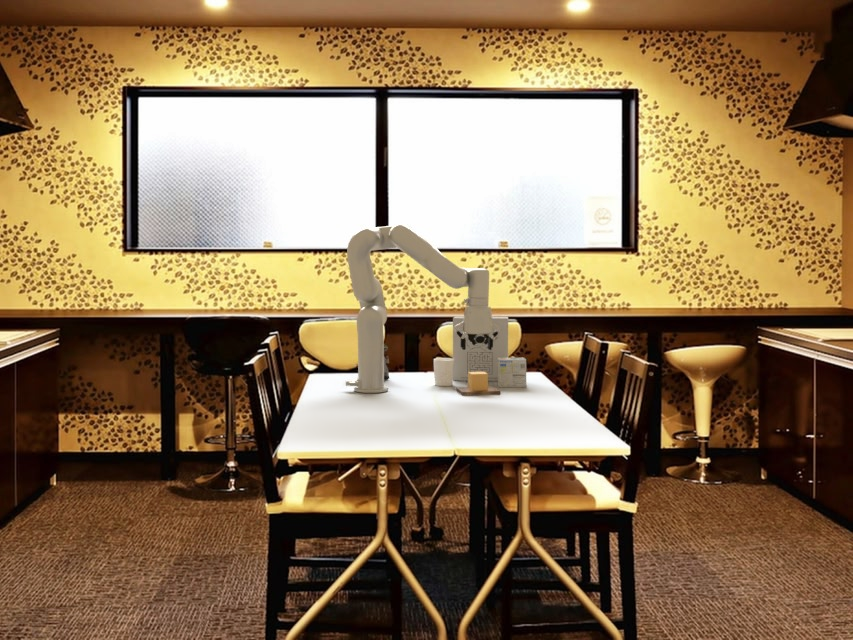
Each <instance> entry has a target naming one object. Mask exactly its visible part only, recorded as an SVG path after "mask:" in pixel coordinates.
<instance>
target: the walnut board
mask: <svg viewBox="0 0 853 640" xmlns="http://www.w3.org/2000/svg"><path fill="white" fill-rule="evenodd" d="M455 391H456V392H457V393H458V394H460V395H461V396H486V395H489V396H490V395H501V390H499V389H498V388H496V387H495V386H493V385H491V386H490V385H488V390H479V391H471V390H470V389H469V388H468V386H461V387H460V386H459V387H458V386H457V387H455Z"/></svg>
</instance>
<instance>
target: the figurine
mask: <svg viewBox="0 0 853 640" xmlns="http://www.w3.org/2000/svg"><path fill="white" fill-rule="evenodd" d="M388 349H389V347H388V346H387V345H386V344H385V343H384V352H386V351H388ZM385 355H386V356H385ZM389 364H390V359H389V355H388V354H387V353H384V380H389V379H390V375H389V372H390V371H389V368H388V366H387V365H389ZM355 368H358V363H356V365H355Z"/></svg>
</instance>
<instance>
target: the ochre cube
mask: <svg viewBox="0 0 853 640" xmlns="http://www.w3.org/2000/svg"><path fill="white" fill-rule="evenodd" d="M488 386H489V381H488V374H487V373H486V372H468V381H467V387H468V388H469V389H470V390H471V391H479V390H488Z"/></svg>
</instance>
